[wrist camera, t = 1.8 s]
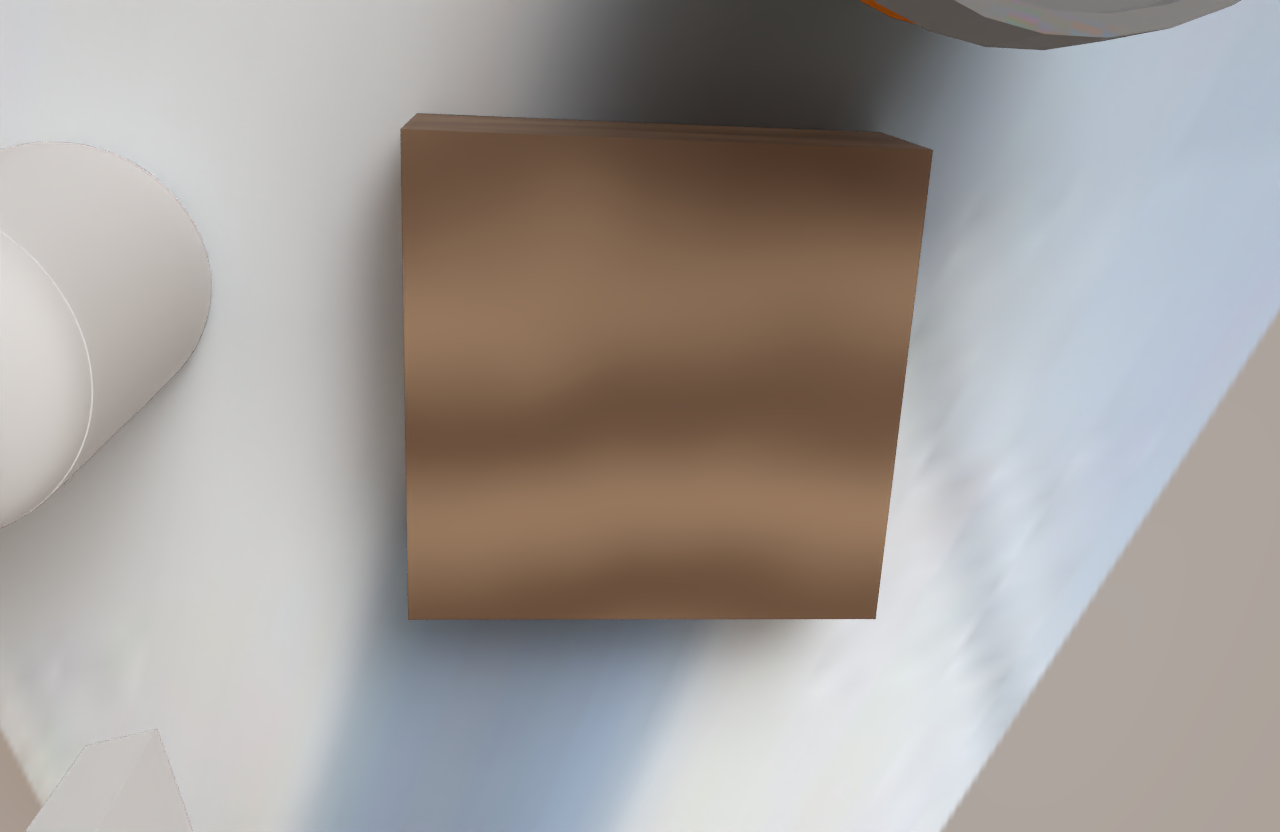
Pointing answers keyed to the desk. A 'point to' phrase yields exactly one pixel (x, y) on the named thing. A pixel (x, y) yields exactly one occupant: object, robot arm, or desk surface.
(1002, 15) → the reusable coffee cup
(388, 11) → the desk surface
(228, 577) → the desk surface
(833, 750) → the desk surface
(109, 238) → the pill bottle
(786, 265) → the walnut base
